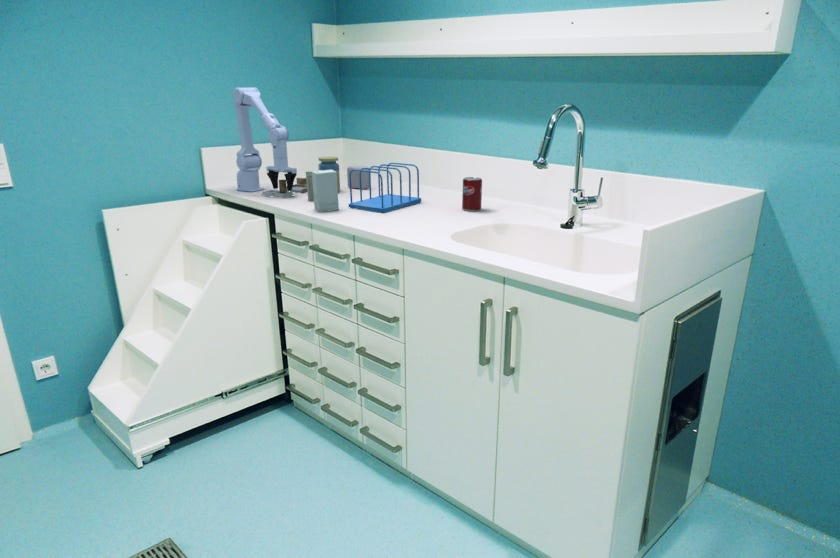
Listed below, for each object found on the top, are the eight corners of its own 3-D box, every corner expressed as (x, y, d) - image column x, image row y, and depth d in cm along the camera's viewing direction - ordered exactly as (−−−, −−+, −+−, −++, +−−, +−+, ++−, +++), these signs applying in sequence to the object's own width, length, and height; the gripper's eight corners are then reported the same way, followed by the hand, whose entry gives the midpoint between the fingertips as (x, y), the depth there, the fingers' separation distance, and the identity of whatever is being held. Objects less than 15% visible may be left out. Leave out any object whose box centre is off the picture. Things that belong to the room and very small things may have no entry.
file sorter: (388, 198, 247) (387, 161, 242) (421, 203, 238) (421, 164, 233) (348, 208, 228) (346, 168, 223) (383, 213, 218) (382, 172, 213)
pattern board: (282, 191, 261) (282, 187, 260) (309, 184, 277) (308, 181, 276) (303, 193, 256) (302, 189, 256) (328, 186, 272) (328, 182, 272)
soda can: (468, 212, 220) (469, 180, 216) (458, 208, 226) (459, 177, 222) (484, 210, 223) (485, 179, 219) (474, 207, 229) (475, 176, 225)
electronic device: (346, 188, 269) (345, 166, 266) (352, 186, 273) (352, 165, 270) (363, 190, 264) (363, 167, 261) (370, 188, 268) (369, 166, 265)
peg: (278, 194, 249) (277, 180, 247) (282, 193, 252) (281, 179, 250) (284, 195, 248) (283, 180, 246) (288, 193, 251) (287, 179, 249)
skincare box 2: (334, 207, 228) (332, 169, 223) (339, 210, 223) (337, 171, 218) (313, 209, 224) (311, 170, 219) (318, 212, 219) (315, 172, 214)
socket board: (261, 195, 251) (261, 191, 251) (271, 193, 257) (271, 189, 256) (283, 198, 246) (283, 194, 246) (293, 195, 252) (293, 191, 251)
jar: (332, 189, 266) (331, 155, 261) (344, 192, 259) (343, 157, 254) (315, 191, 260) (313, 157, 255) (326, 194, 254) (325, 159, 249)
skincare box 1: (325, 199, 243) (323, 169, 239) (322, 201, 239) (321, 171, 235) (310, 199, 244) (308, 169, 240) (307, 201, 240) (305, 171, 236)
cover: (296, 185, 267) (296, 177, 266) (308, 182, 275) (308, 175, 274) (312, 186, 264) (312, 179, 262) (324, 183, 271) (324, 176, 270)
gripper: (260, 156, 245) (263, 189, 249) (288, 159, 238) (290, 192, 243) (271, 155, 251) (274, 186, 255) (298, 157, 244) (301, 189, 249)
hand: (282, 189), depth 249 cm, fingers open, 7 cm apart
